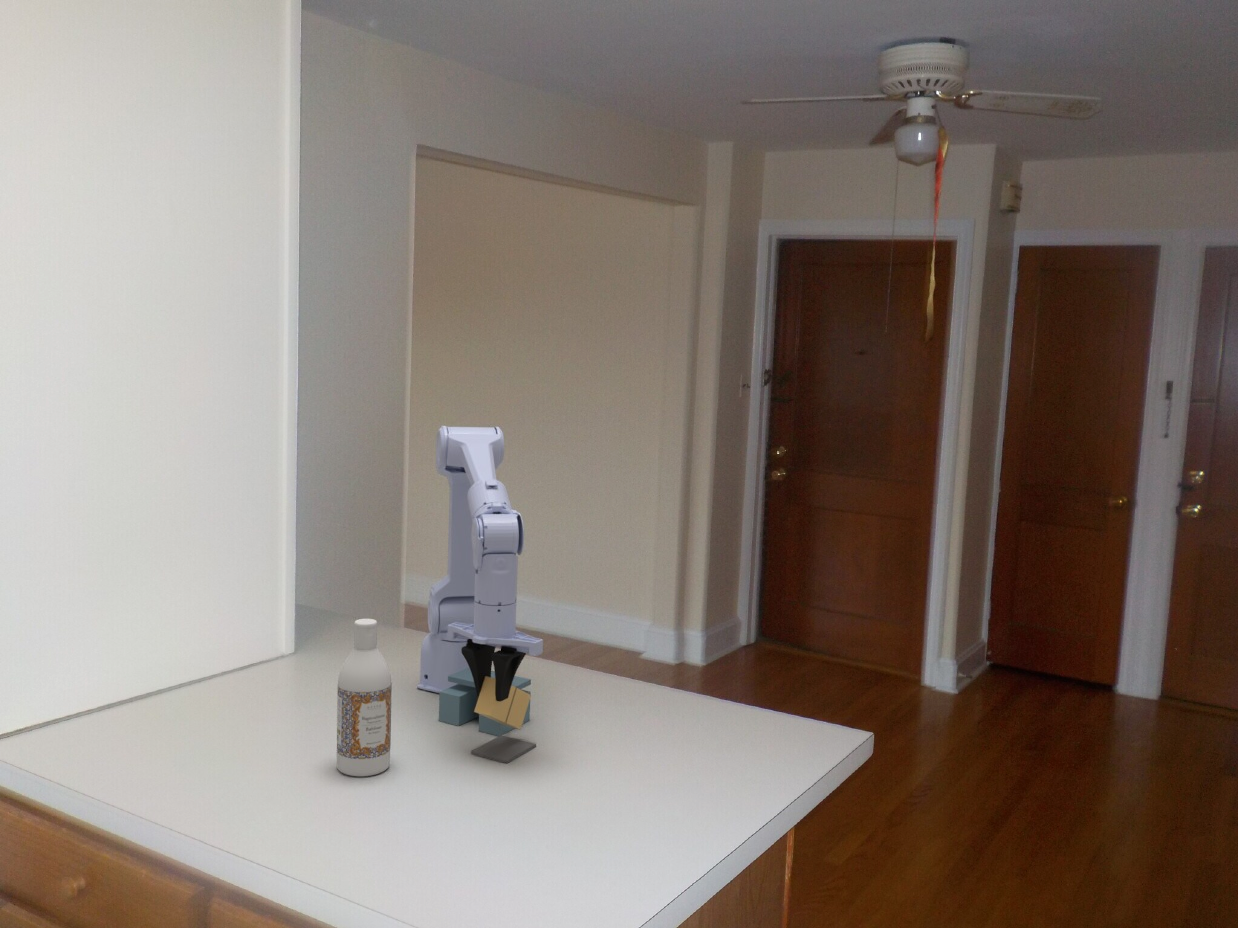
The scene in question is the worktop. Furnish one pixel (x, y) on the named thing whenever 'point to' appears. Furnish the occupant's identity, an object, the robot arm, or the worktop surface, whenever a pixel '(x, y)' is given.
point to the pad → (503, 749)
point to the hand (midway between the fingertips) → (492, 696)
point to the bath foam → (364, 706)
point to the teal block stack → (472, 703)
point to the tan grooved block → (502, 705)
